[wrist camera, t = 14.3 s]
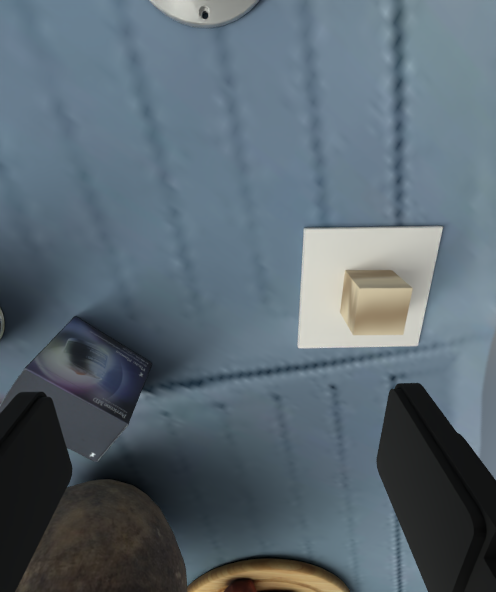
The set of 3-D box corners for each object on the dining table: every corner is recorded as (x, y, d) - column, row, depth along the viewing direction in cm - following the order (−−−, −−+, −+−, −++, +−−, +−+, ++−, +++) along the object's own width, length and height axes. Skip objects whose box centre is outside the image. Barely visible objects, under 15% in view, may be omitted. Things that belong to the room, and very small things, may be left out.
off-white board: (303, 227, 36) (304, 229, 36) (439, 225, 37) (442, 227, 36) (297, 345, 42) (298, 348, 42) (415, 343, 42) (417, 345, 42)
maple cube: (345, 270, 38) (359, 288, 33) (391, 269, 38) (412, 288, 33) (339, 312, 40) (353, 335, 35) (384, 312, 40) (403, 334, 35)
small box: (156, 360, 43) (131, 425, 33) (127, 395, 45) (97, 466, 35) (75, 312, 40) (23, 367, 30) (49, 351, 42) (-8, 415, 32)
